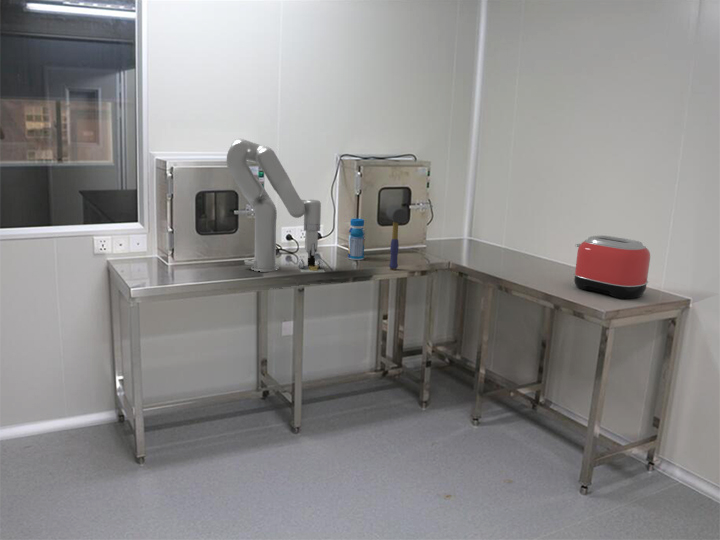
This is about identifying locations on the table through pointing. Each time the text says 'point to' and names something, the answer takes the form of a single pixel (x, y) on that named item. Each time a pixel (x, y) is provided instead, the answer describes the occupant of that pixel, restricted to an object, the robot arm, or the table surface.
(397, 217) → the rubber mallet
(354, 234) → the beverage bottle
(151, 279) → the table surface
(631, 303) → the table surface
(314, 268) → the brass nut
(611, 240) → the toaster
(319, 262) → the spacer rows
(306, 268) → the spacer board
